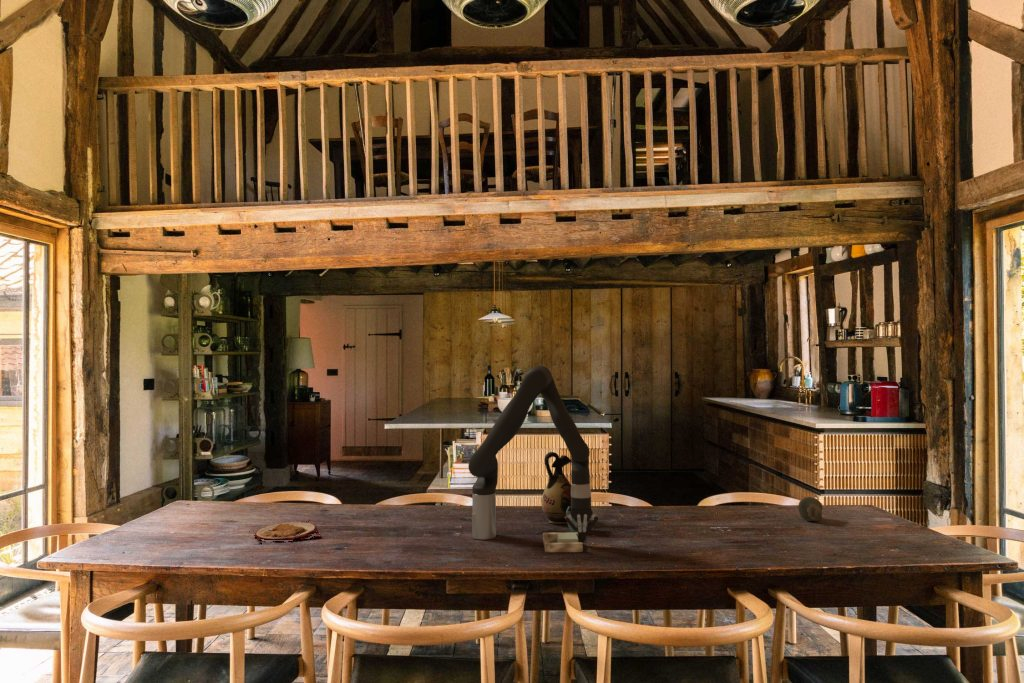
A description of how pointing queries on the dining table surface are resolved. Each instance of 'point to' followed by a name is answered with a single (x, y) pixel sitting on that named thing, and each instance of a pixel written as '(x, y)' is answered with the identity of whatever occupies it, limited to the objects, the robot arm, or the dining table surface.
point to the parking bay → (560, 544)
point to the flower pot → (572, 521)
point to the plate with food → (287, 531)
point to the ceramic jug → (556, 490)
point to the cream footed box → (566, 537)
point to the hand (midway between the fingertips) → (582, 541)
